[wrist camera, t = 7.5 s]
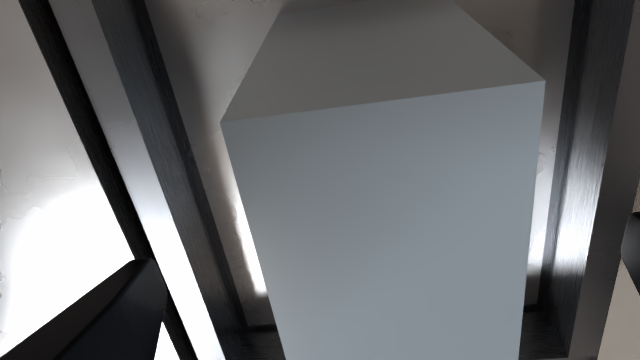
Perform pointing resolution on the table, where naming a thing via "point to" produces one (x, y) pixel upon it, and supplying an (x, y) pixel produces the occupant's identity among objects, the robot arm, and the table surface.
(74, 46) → the grey compartment tray
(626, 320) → the table surface
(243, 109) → the pale grey rectangular block
